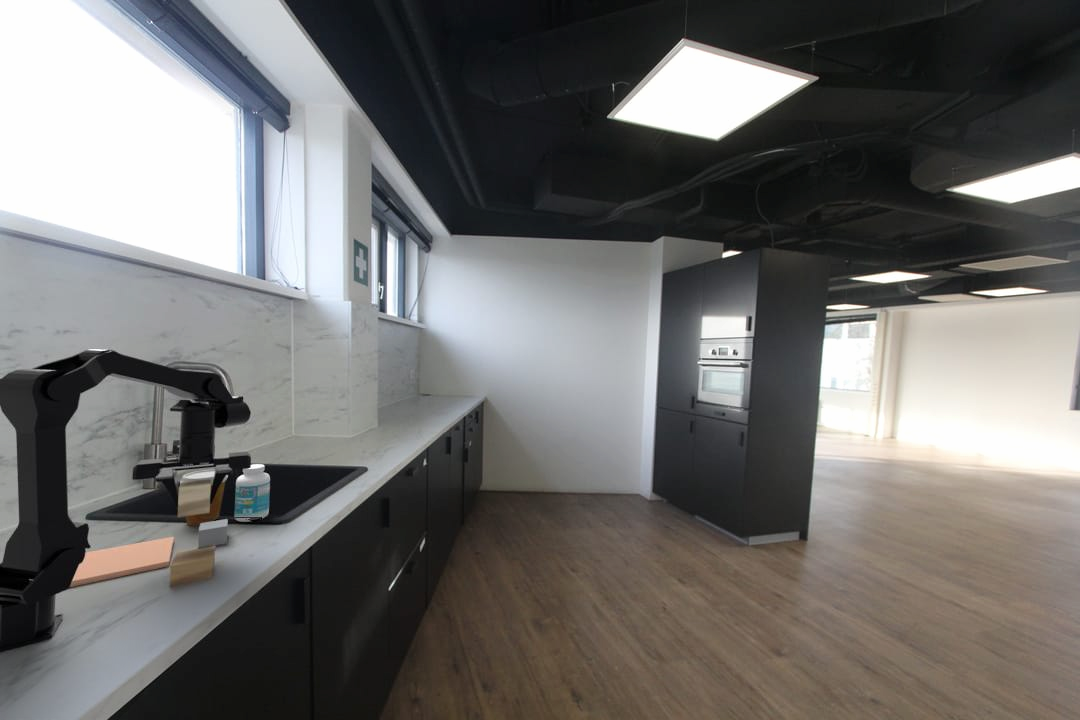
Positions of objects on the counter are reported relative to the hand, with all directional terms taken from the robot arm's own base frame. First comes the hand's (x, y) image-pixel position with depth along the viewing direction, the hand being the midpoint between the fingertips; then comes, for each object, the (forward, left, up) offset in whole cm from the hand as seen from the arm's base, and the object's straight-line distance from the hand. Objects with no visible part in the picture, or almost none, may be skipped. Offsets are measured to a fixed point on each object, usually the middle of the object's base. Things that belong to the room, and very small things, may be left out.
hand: (194, 505), depth 87 cm
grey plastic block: (+6, -3, -11) cm, 13 cm away
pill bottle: (+18, -11, -11) cm, 24 cm away
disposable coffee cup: (+22, -1, -11) cm, 25 cm away
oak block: (-10, 0, -11) cm, 15 cm away
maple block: (0, 0, -1) cm, 1 cm away
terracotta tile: (+4, +11, -11) cm, 16 cm away
